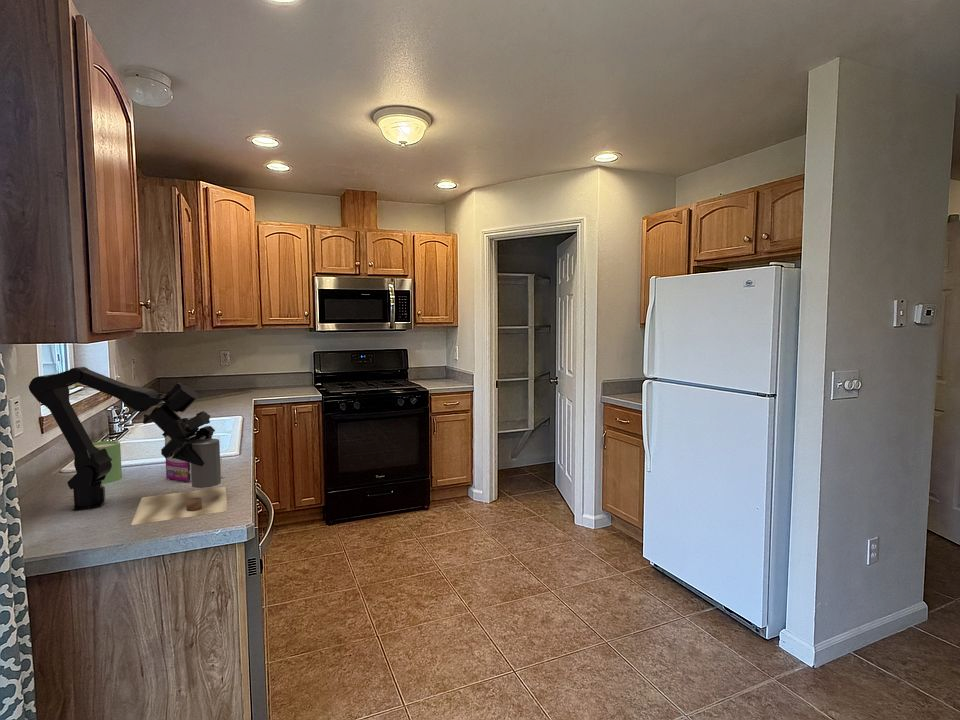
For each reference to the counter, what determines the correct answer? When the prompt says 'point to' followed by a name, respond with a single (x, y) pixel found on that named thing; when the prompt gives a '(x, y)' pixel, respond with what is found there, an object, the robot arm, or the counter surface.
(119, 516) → the counter surface
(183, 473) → the candy bar box
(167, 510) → the birch board
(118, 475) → the mug
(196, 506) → the brown round knob
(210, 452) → the grey cylinder
